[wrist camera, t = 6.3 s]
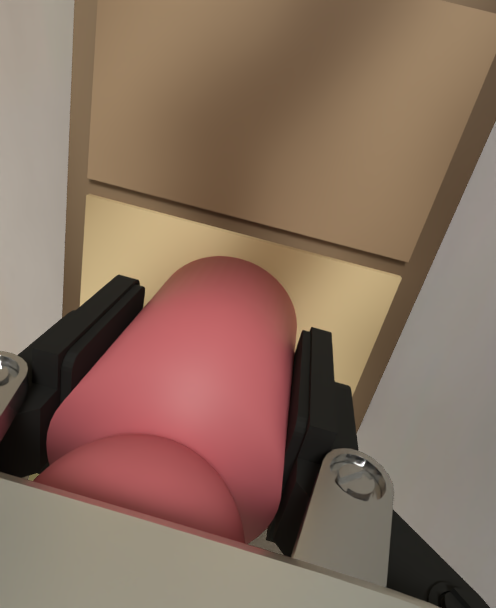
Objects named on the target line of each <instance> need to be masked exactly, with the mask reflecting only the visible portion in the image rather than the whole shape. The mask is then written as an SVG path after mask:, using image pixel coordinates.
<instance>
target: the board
mask: <svg viewBox="0 0 496 608" xmlns="http://www.w3.org/2000/svg"><path fill="white" fill-rule="evenodd" d="M495 121H496V0H75V4H74V29H73V55H72V81H71V106H70V132H69V157H68V183H67V209H66V234H65V260H64V285H63V311H62V318H63V317H64V316H65V315H66V314H68V313H69V312H71V311H72V310H77V309H78V308H79V307H80V306H81V305H82V304H84V303H85V302H86V301H87V300H88V299H90V298H91V297H92V296H93V295H94V294H95V293H97V292H98V291H99V290H100V289H101V288H102V287H104V286H105V285H106V284H107V283H108V282H110V281H111V280H112V279H113V278H114V277H115V276H117V275H123V276H126V277H130V278H134V279H137V280H139V282H140V286H144V287H145V297H144V305H143V308H144V307H145V306H146V304H147V303H148V302H149V301H150V300H151V299H152V297H153V296H154V295H155V294H156V293H157V292H158V290H159V289H160V288H161V287H162V286H163V285H164V283H165V282H166V281H167V280H168V279H169V278H170V277H171V275H173V274H174V273H175V272H176V271H177V270H178V269H180V268H181V267H183V266H184V265H186V264H188V263H190V262H192V261H195V260H198V259H201V258H205V257H211V256H228V257H235V258H240V259H243V260H246V261H249V262H251V263H253V264H255V265H258V266H259V267H261V268H263V269H264V270H266V271H267V272H269V273H270V274H271V275H272V276H273V277H275V278H276V279H277V281H278V282H279V283H280V284H281V285H282V286H283V288H284V289H285V290H286V292H287V293H288V295H289V297H290V299H291V301H292V303H293V306H294V309H295V313H296V318H297V334H296V344H295V350H296V347H297V344H298V341H299V338H300V335H301V332H302V330H305V331H310V329H311V327H314V328H318V329H321V330H325V331H329V332H331V333H332V346H333V363H334V380H335V382H338V383H342V384H345V385H349V386H350V387H351V391H352V400H353V409H354V417H355V426H356V434H357V431H358V429H359V427H360V425H361V422H362V420H363V418H364V416H365V413H366V411H367V409H368V407H369V404H370V402H371V400H372V398H373V395H374V393H375V391H376V389H377V386H378V384H379V382H380V380H381V377H382V375H383V373H384V371H385V368H386V366H387V364H388V362H389V359H390V357H391V355H392V353H393V350H394V348H395V346H396V344H397V341H398V339H399V337H400V335H401V332H402V330H403V328H404V326H405V323H406V321H407V319H408V317H409V314H410V312H411V310H412V308H413V305H414V303H415V301H416V299H417V296H418V294H419V292H420V290H421V287H422V285H423V283H424V281H425V278H426V276H427V274H428V272H429V269H430V267H431V265H432V263H433V260H434V258H435V256H436V254H437V251H438V249H439V247H440V245H441V242H442V240H443V238H444V236H445V233H446V231H447V229H448V227H449V224H450V222H451V220H452V218H453V215H454V213H455V211H456V209H457V206H458V204H459V202H460V200H461V197H462V195H463V193H464V191H465V188H466V186H467V184H468V182H469V179H470V177H471V175H472V173H473V170H474V168H475V166H476V164H477V161H478V159H479V157H480V155H481V152H482V150H483V148H484V146H485V143H486V141H487V139H488V137H489V134H490V132H491V130H492V128H493V125H494V123H495Z"/></svg>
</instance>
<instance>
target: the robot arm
mask: <svg viewBox="0 0 496 608" xmlns="http://www.w3.org/2000/svg"><path fill="white" fill-rule="evenodd" d="M144 297H145V287H144V286H140V282H139V280H137V279H134V278H130V277H126V276H123V275H117V276H115V277H114V278H113V279H112V280H111V281H110V282H108V283H107V284H106V285H105V286H104V287H102V288H101V289H100V290H99V291H98V292H97V293H95V294H94V295H93V296H92V297H91V298H90V299H88V300H87V301H86V302H85V303H84V304H82V305H81V306H80V307H79V308H78V309H77V310H72V311H71V312H69V313H68V314H66V315H65V316H64V317H63V318H62V319H60V320H59V321H58V322H57V323H56V324H54V325H53V326H52V327H51V328H50V329H48V330H47V331H46V332H45V333H44V334H42V335H41V336H40V337H39V338H38V339H36V340H35V341H34V342H33V343H32V344H30V345H29V346H28V347H27V348H26V349H24V350H23V351H22V352H21V353H20V354H18V355H15V354H13V353H8V352H4V351H0V608H490V607H489V606H488V605H487V604H486V602H485V601H484V600H483V599H482V598H481V597H480V596H479V595H478V594H477V593H476V592H475V591H474V590H473V589H472V588H471V587H470V586H469V585H468V584H467V583H466V582H465V581H464V580H463V579H462V578H461V577H460V576H459V575H458V574H457V573H456V572H455V571H454V570H453V569H452V568H451V567H450V566H449V565H448V564H447V563H446V562H445V561H444V560H443V559H442V558H441V557H440V556H439V555H438V554H437V553H436V552H435V551H434V550H433V549H432V548H431V547H430V546H429V545H428V544H427V543H426V542H425V541H424V540H423V539H422V538H421V537H420V536H419V535H418V534H417V533H416V532H415V531H414V530H413V529H412V528H411V527H410V526H409V525H408V524H407V523H406V522H405V521H404V520H403V519H402V518H401V517H400V516H399V515H398V514H397V513H396V512H395V511H394V510H393V499H394V488H393V483H392V481H391V478H390V476H389V474H388V473H387V472H386V470H385V469H384V468H383V467H382V465H380V464H379V463H378V462H377V461H376V460H374V459H373V458H372V457H370V456H368V455H366V454H364V453H363V452H360V451H358V443H357V435H356V426H355V417H354V409H353V400H352V391H351V387H350V386H349V385H345V384H342V383H338V382H335V380H334V363H333V346H332V333H331V332H329V331H325V330H321V329H318V328H314V327H311V329H310V331H305V330H302V332H301V335H300V338H299V341H298V344H297V347H296V350H295V354H294V363H293V374H292V384H291V394H290V405H289V415H288V426H287V436H286V447H285V457H284V470H283V481H282V491H281V500H280V504H279V507H278V510H277V513H276V515H275V517H274V519H273V520H272V522H271V523H270V524H269V526H268V529H267V537H266V540H268V541H271V542H275V543H276V545H277V546H278V547H279V549H280V550H281V551H282V553H283V554H284V555H281V554H278V553H274V552H271V551H268V550H264V549H261V548H258V547H254V546H251V545H248V544H244V543H241V542H238V541H234V540H231V539H228V538H224V537H221V536H217V535H214V534H211V533H207V532H204V531H201V530H197V529H194V528H191V527H187V526H184V525H181V524H177V523H174V522H170V521H167V520H164V519H160V518H157V517H153V516H150V515H146V514H143V513H140V512H136V511H133V510H129V509H126V508H123V507H119V506H116V505H112V504H109V503H106V502H102V501H99V500H95V499H92V498H88V497H85V496H82V495H78V494H75V493H71V492H68V491H64V490H61V489H57V488H54V487H51V486H47V485H44V484H40V483H37V482H33V481H30V480H28V478H29V475H32V474H35V473H38V474H41V473H42V472H43V471H44V470H45V469H46V468H47V467H49V466H50V465H49V461H48V456H47V446H46V441H47V432H48V428H49V425H50V421H51V419H52V417H53V415H54V413H55V412H56V410H57V409H58V407H59V406H60V405H61V404H62V402H63V401H64V400H65V399H66V398H67V396H68V395H69V394H70V393H71V392H72V391H73V389H74V388H75V387H76V386H77V385H78V384H79V382H80V381H81V380H82V379H83V378H84V377H85V375H86V374H87V373H88V372H89V371H90V370H91V368H92V367H93V366H94V365H95V364H96V363H97V361H98V360H99V359H100V358H101V357H102V356H103V355H104V353H105V352H106V351H107V350H108V349H109V348H110V346H111V345H112V344H113V343H114V342H115V341H116V339H117V338H118V337H119V336H120V335H121V334H122V332H123V331H124V330H125V329H126V328H127V327H128V325H129V324H130V323H131V322H132V321H133V320H134V318H135V317H136V316H137V315H138V314H139V313H140V311H141V310H142V309H143V305H144Z"/></svg>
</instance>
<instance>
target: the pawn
mask: <svg viewBox="0 0 496 608" xmlns="http://www.w3.org/2000/svg"><path fill="white" fill-rule="evenodd" d="M296 334H297V318H296V313H295V309H294V306H293V303H292V301H291V299H290V297H289V295H288V293H287V292H286V290H285V289H284V288H283V286H282V285H281V284H280V283H279V282H278V281H277V279H276V278H275V277H273V276H272V275H271V274H270V273H269V272H267V271H266V270H264V269H263V268H261V267H259V266H258V265H255V264H253V263H251V262H249V261H246V260H243V259H240V258H235V257H228V256H211V257H205V258H201V259H198V260H195V261H192V262H190V263H188V264H186V265H184V266H183V267H181V268H180V269H178V270H177V271H176V272H175V273H174V274H173V275H171V277H170V278H169V279H168V280H167V281H166V282H165V283H164V285H163V286H162V287H161V288H160V289H159V290H158V292H157V293H156V294H155V295H154V296H153V297H152V299H151V300H150V301H149V302H148V303H147V304H146V306H145V307H144V308H143V309H142V310H141V311H140V313H139V314H138V315H137V316H136V317H135V318H134V320H133V321H132V322H131V323H130V324H129V325H128V327H127V328H126V329H125V330H124V331H123V332H122V334H121V335H120V336H119V337H118V338H117V339H116V341H115V342H114V343H113V344H112V345H111V346H110V348H109V349H108V350H107V351H106V352H105V353H104V355H103V356H102V357H101V358H100V359H99V360H98V361H97V363H96V364H95V365H94V366H93V367H92V368H91V370H90V371H89V372H88V373H87V374H86V375H85V377H84V378H83V379H82V380H81V381H80V382H79V384H78V385H77V386H76V387H75V388H74V389H73V391H72V392H71V393H70V394H69V395H68V396H67V398H66V399H65V400H64V401H63V402H62V404H61V405H60V406H59V407H58V409H57V410H56V412H55V413H54V415H53V417H52V419H51V421H50V425H49V428H48V432H47V441H46V446H47V456H48V461H49V465H50V466H49V467H47V468H46V469H45V470H44V471H43V472H42V473H41V474H40V475H38V476H37V477H36V478H35V479H34V481H33V482H37V483H40V484H44V485H47V486H51V487H54V488H57V489H61V490H64V491H68V492H71V493H75V494H78V495H82V496H85V497H88V498H92V499H95V500H99V501H102V502H106V503H109V504H112V505H116V506H119V507H123V508H126V509H129V510H133V511H136V512H140V513H143V514H146V515H150V516H153V517H157V518H160V519H164V520H167V521H170V522H174V523H177V524H181V525H184V526H187V527H191V528H194V529H197V530H201V531H204V532H207V533H211V534H214V535H217V536H221V537H224V538H228V539H231V540H234V541H238V542H241V543H244V544H248V543H250V542H251V541H253V540H254V539H255V538H257V537H258V536H259V535H260V534H261V533H262V532H264V531H265V530H266V529H267V527H268V526H269V524H270V523H271V522H272V520H273V519H274V517H275V515H276V513H277V510H278V507H279V504H280V500H281V491H282V481H283V470H284V457H285V447H286V436H287V426H288V415H289V405H290V394H291V384H292V374H293V363H294V354H295V344H296Z"/></svg>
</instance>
